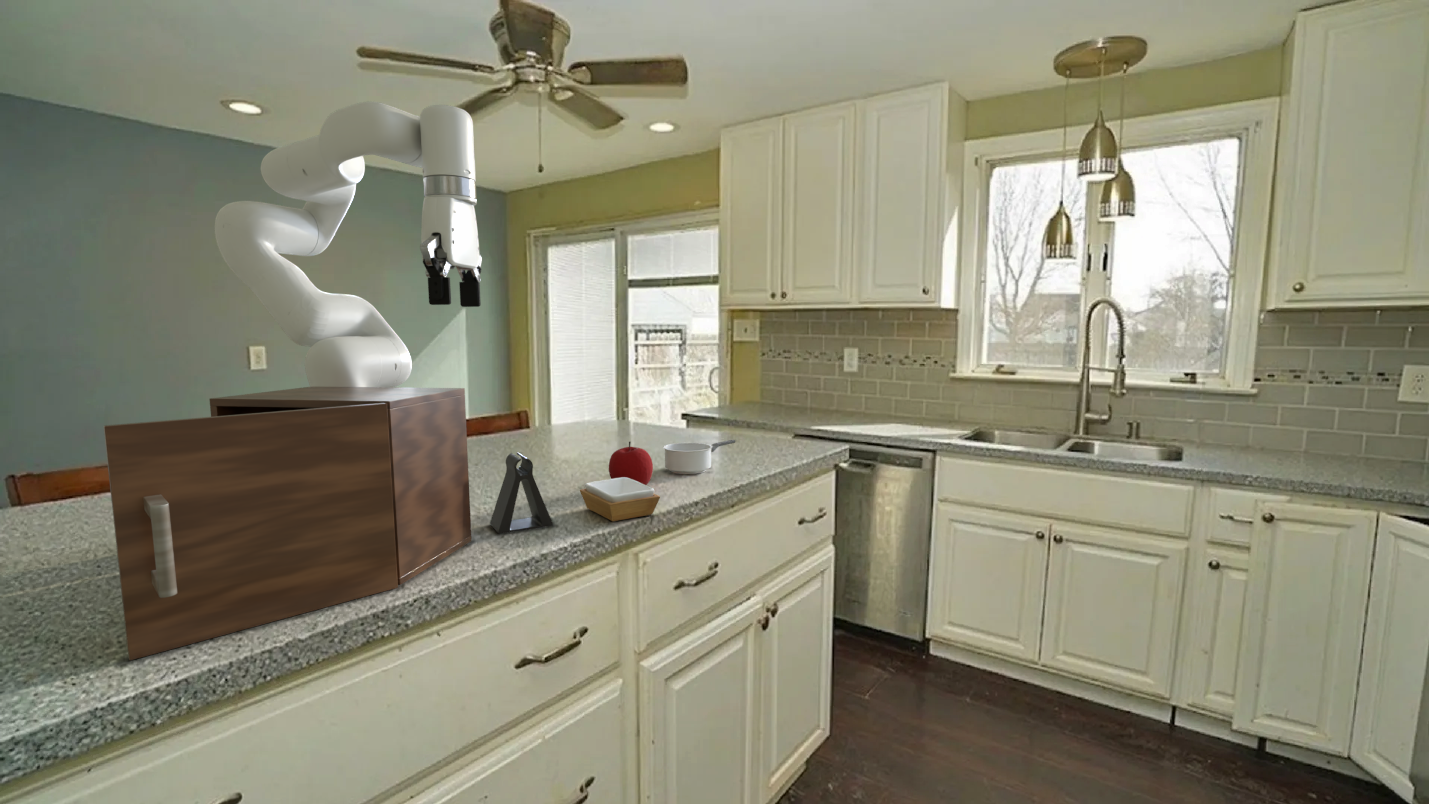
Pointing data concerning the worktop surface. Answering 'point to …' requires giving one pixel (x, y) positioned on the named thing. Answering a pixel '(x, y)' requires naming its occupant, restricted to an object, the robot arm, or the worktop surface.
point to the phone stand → (509, 494)
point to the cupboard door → (248, 519)
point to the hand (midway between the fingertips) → (456, 305)
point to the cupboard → (401, 460)
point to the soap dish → (619, 498)
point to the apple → (631, 464)
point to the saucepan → (690, 456)
